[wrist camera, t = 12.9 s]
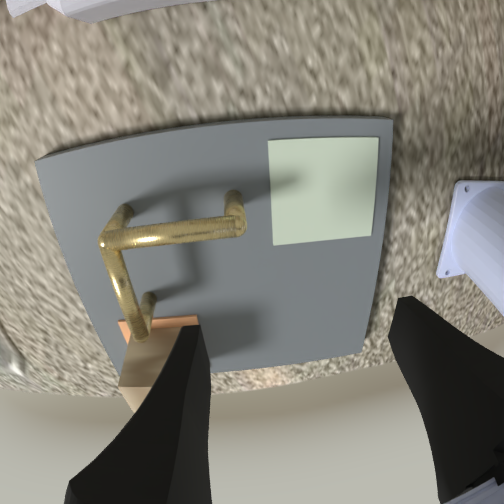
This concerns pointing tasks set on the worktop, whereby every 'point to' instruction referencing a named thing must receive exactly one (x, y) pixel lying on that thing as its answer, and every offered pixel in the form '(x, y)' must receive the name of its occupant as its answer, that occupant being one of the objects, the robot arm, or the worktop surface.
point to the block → (145, 364)
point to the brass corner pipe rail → (159, 234)
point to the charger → (93, 7)
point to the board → (240, 248)
